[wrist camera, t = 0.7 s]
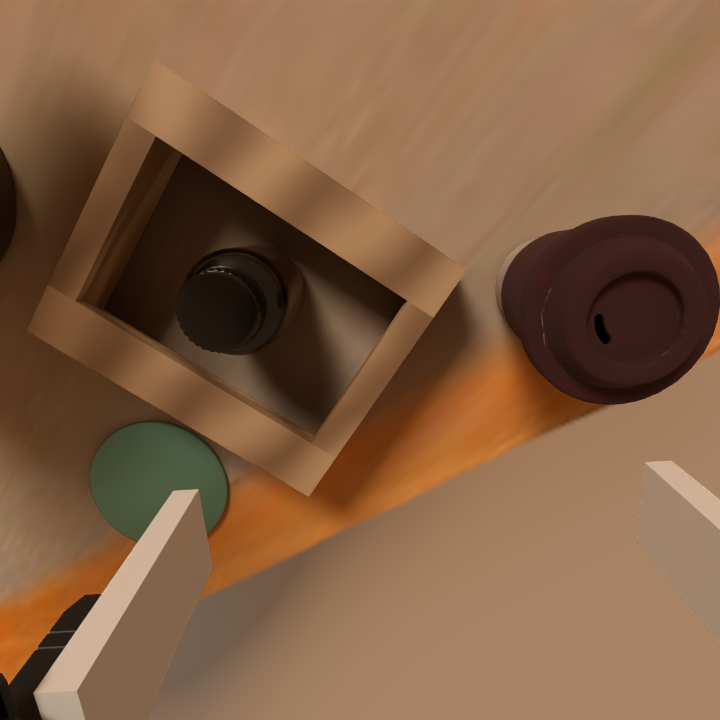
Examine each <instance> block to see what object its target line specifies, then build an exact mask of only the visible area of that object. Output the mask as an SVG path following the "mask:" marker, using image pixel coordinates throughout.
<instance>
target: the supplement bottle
mask: <svg viewBox="0 0 720 720" xmlns="http://www.w3.org/2000/svg"><path fill="white" fill-rule="evenodd" d="M303 299H304V283H303V279H302V276H301V273H300V271H299V269H298V267H297V266H296V264H295V263H294V262H293V261H292V260H291V259H290V258H289V257H288V256H287V255H286V254H284V253H283V252H281V251H279V250H277V249H275V248H272V247H269V246H263V245H252V246H243V247H234V248H226V249H221V250H217V251H214V252H212V253H210V254H208V255H206V256H204V257H203V258H201V259H200V260H199V261H198V262H197V263H196V264H195V265H194V266H193V267H192V268H191V270H190V271H189V273H188V275H187V276H186V279H185V281H184V284H183V287H181V292H180V293H179V294H178V300H177V302H176V306H177V308H176V313H177V320H178V321H179V323H180V327H181V329H183V332H184V334H185V335H186V336H188V338H189V340H190V341H192V342H194V344H195V345H196V346H200V347H201V348H202V349H204V350H209V351H210V352H215V351H216V352H218V353H225V354H230V355H246V354H251V353H254V352H257V351H259V350H262V349H263V348H265V347H267V346H268V345H269V344H271V343H272V342H273V341H274V340H275V339H276V338H277V337H278V336H279V335H280V334H281V333H282V332H283V331H284V330H285V328H286V327H287V326H288V325H289V324H290V323H291V322H292V321H293V320H294V318H295V317H296V316H297V314H298V312H299V311H300V308H301V306H302V303H303Z"/></svg>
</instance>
